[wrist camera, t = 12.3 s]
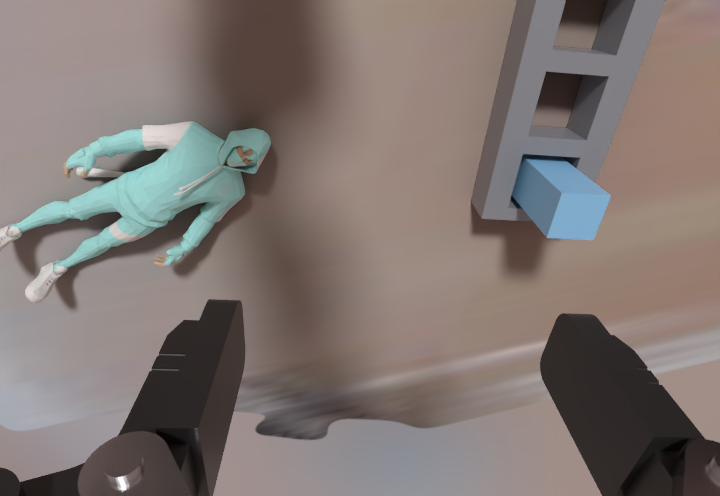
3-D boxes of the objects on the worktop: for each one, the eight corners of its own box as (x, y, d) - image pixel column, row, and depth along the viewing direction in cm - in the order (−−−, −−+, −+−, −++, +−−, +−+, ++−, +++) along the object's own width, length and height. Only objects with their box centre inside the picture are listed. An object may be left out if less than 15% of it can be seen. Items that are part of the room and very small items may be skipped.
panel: (528, -51, 35) (549, -54, 31) (647, -39, 36) (680, -41, 32) (470, 201, 46) (481, 218, 43) (562, 206, 47) (579, 224, 43)
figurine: (-65, 233, 39) (214, 82, 32) (-21, 196, 44) (229, 59, 37) (57, 322, 47) (303, 215, 40) (83, 282, 52) (306, 181, 45)
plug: (513, 147, 43) (561, 193, 34) (552, 149, 44) (611, 195, 34) (503, 185, 45) (546, 238, 36) (540, 187, 46) (593, 240, 36)
